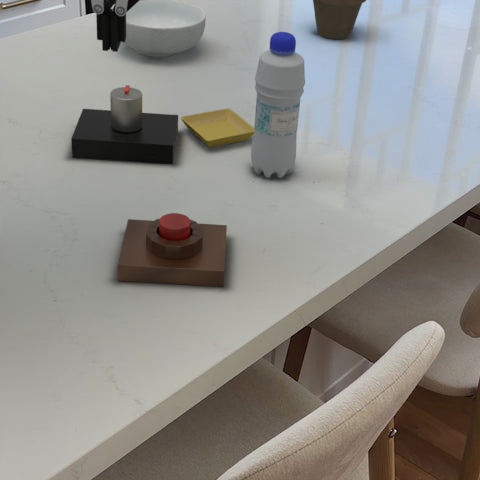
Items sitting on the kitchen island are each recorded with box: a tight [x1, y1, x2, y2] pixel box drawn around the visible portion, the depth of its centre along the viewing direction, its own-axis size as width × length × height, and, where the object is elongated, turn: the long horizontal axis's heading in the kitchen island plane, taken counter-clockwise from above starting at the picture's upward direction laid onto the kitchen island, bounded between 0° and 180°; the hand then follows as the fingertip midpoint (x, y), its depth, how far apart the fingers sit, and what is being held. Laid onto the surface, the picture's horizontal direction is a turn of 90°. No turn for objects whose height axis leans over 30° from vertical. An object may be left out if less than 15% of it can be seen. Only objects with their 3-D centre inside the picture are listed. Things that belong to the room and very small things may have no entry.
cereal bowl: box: [111, 0, 207, 58], centre depth 159 cm, size 17×17×7 cm
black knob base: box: [70, 108, 179, 165], centre depth 128 cm, size 14×10×3 cm
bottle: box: [250, 31, 306, 179], centre depth 120 cm, size 7×7×20 cm
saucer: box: [180, 108, 255, 149], centre depth 133 cm, size 9×9×2 cm
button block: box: [117, 218, 228, 287], centre depth 104 cm, size 12×10×4 cm
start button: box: [159, 212, 191, 241], centre depth 103 cm, size 4×4×2 cm
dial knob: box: [109, 84, 143, 132], centre depth 125 cm, size 4×4×5 cm
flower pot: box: [312, 0, 367, 40], centre depth 172 cm, size 12×11×10 cm
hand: (111, 46), depth 98 cm, fingers closed
